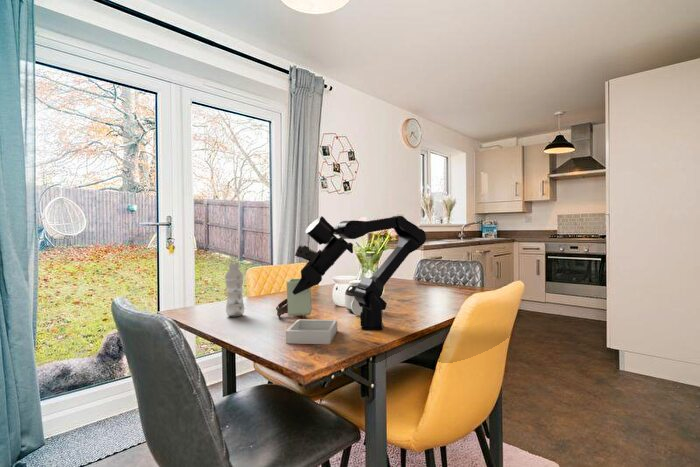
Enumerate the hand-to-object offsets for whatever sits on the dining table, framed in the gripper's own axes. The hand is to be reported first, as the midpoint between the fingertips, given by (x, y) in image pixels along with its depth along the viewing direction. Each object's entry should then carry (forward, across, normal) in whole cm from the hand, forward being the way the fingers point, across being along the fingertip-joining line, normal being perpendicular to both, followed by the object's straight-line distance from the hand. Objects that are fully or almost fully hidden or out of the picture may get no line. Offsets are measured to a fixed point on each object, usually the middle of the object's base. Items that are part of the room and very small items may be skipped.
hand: (294, 291), depth 108 cm
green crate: (+4, 0, +6) cm, 7 cm away
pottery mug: (+13, -22, +6) cm, 26 cm away
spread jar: (-5, -26, +25) cm, 36 cm away
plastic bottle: (+28, -25, -9) cm, 38 cm away
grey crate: (+6, +3, +13) cm, 15 cm away
